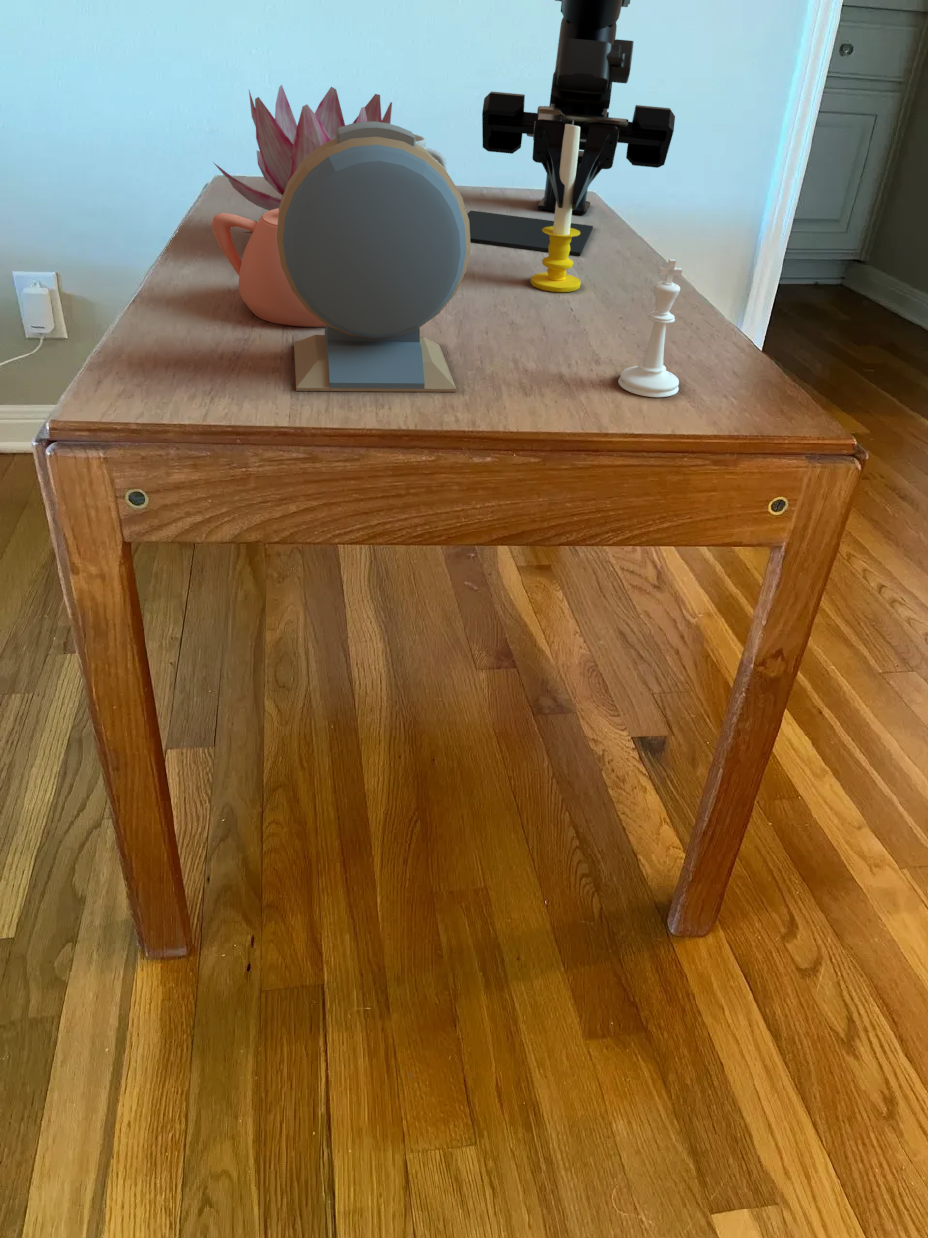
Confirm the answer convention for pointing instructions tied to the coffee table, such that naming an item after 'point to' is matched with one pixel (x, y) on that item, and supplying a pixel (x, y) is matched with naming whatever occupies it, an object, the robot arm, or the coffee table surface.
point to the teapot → (262, 270)
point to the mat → (520, 232)
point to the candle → (562, 223)
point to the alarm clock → (372, 259)
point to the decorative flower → (295, 139)
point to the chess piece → (656, 344)
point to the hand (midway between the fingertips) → (567, 205)
